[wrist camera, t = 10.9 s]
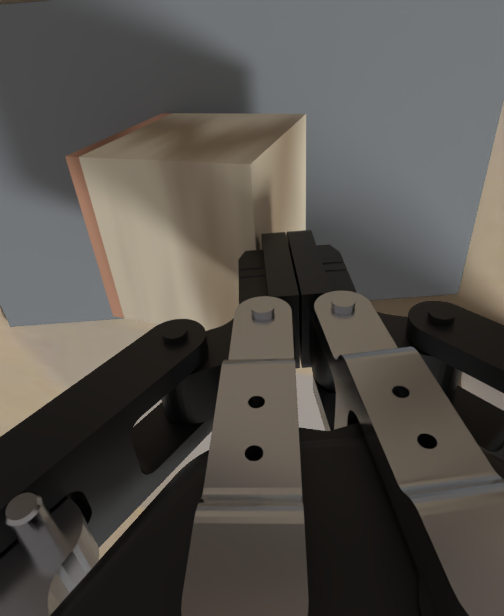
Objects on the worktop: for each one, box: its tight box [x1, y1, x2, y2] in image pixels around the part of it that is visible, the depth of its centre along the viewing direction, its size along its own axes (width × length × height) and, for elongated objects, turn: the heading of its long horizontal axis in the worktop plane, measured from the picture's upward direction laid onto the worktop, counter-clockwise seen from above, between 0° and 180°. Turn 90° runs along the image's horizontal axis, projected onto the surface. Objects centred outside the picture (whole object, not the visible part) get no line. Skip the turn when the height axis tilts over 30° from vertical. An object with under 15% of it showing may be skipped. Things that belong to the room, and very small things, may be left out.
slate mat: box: [0, 0, 504, 327], centre depth 20 cm, size 24×14×1 cm, turn 94°
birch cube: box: [65, 113, 306, 331], centre depth 17 cm, size 6×6×6 cm
